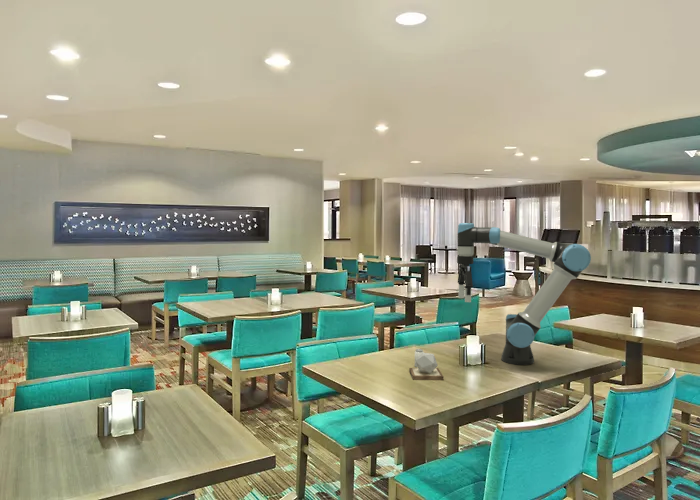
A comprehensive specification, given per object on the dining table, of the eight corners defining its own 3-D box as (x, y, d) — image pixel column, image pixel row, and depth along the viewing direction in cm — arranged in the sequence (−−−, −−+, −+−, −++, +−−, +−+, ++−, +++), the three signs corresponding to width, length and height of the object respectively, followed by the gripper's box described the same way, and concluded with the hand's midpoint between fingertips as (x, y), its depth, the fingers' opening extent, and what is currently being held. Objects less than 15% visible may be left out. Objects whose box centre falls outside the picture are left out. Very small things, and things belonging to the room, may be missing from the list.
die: (440, 372, 222) (431, 352, 227) (439, 367, 215) (430, 346, 220) (422, 379, 223) (414, 358, 228) (420, 374, 215) (412, 352, 220)
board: (438, 371, 228) (438, 367, 228) (443, 379, 215) (443, 376, 215) (409, 371, 228) (409, 367, 228) (413, 379, 215) (413, 375, 215)
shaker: (422, 365, 239) (422, 348, 238) (423, 367, 235) (424, 350, 234) (414, 365, 239) (414, 348, 238) (415, 367, 235) (415, 350, 234)
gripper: (452, 254, 252) (451, 296, 253) (463, 256, 227) (462, 303, 228) (467, 254, 252) (466, 296, 253) (480, 257, 227) (479, 303, 228)
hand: (464, 300), depth 240 cm, fingers open, 13 cm apart
